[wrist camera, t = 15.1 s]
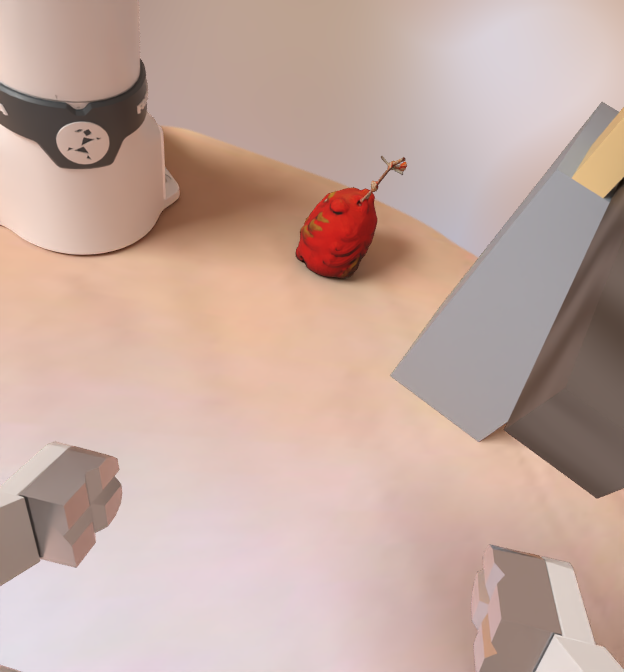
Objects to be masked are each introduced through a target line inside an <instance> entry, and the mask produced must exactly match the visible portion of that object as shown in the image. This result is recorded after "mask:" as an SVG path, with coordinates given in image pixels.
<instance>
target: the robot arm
mask: <svg viewBox="0 0 624 672" xmlns="http://www.w3.org/2000/svg"><path fill="white" fill-rule="evenodd" d="M139 36H140V32H139V0H0V225H2V226H5V227H7V228H8V229H10V230H12V231H13V232H14V233H16V234H17V235H19V236H20V237H21V238H23V239H25V240H26V241H28V242H30V243H32V244H34V245H37V246H39V247H42V248H45V249H48V250H52V251H56V252H61V253H67V254H81V255H83V254H99V253H106V252H110V251H114V250H118V249H121V248H124V247H126V246H128V245H131V244H133V243H134V242H136V241H138V240H139V239H141V238H142V237H144V236H145V235H146V234H147V233H148V232H149V231H150V230H151V229H152V228H153V226H154V225H155V223H156V221H157V219H158V217H159V215H160V214H161V212H162V211H163V210H164V209H165V208H166V207H168V206H169V205H171V204H172V203H174V202H175V201H176V200H177V199H178V198H179V196H180V191H179V185H178V183H177V182H176V181H175V179H174V178H173V177H172V175H171V174H170V173H169V171H168V170H167V168H166V167H165V159H164V137H163V130H162V127H161V126H159V125H157V123H156V121H155V119H154V118H153V117H152V116H151V115H150V114H149V113H148V112H147V99H148V85H147V80H146V72H145V67H144V64H143V62H142V60H141V59H140V37H139ZM118 471H119V465H118V459H117V458H115V457H113V456H110V455H106V454H102V453H98V452H95V451H91V450H87V449H83V448H79V447H76V446H70V445H67V444H63V443H59V442H52V443H49V444H47V445H46V446H45V447H44V448H43V449H41V450H40V451H39V452H38V453H37V454H36V455H35V456H34V457H32V458H31V459H30V460H29V461H28V462H27V463H26V464H25V465H24V466H22V467H21V468H20V469H19V470H18V471H17V472H16V473H15V474H13V475H12V476H11V477H10V478H9V479H8V480H7V481H6V482H5V483H3V484H2V485H1V486H0V586H1V585H3V584H4V583H6V582H8V581H9V580H11V579H12V578H14V577H16V576H17V575H19V574H21V573H22V572H24V571H25V570H27V569H29V568H30V567H32V566H33V565H35V564H37V563H38V562H40V559H43V560H47V561H51V562H55V563H59V564H63V565H67V566H71V567H75V568H77V566H78V565H79V564H80V563H81V561H82V560H83V559H84V557H85V556H86V555H87V553H88V552H89V551H90V549H91V548H92V547H93V546H94V544H95V543H96V535H95V533H96V532H98V531H100V530H102V529H104V528H106V527H108V526H109V524H110V523H111V522H112V520H113V519H114V517H115V516H116V514H117V511H118V509H119V506H120V504H121V499H122V486H121V484H120V482H119V481H118V480H117V479H116V477H115V475H116V473H117V472H118ZM483 566H484V569H482V570H480V571H478V572H477V575H476V578H475V581H474V585H473V591H472V599H471V613H472V622H473V624H474V625H475V627H476V628H477V630H478V633H477V636H476V638H475V641H474V644H473V645H474V658H475V671H476V672H624V669H623V668H622V667H621V665H620V664H619V663H618V662H617V661H616V660H615V658H614V657H613V656H612V655H611V654H610V653H609V652H608V650H607V649H606V648H605V647H602V646H599V645H596V643H595V640H594V636H593V633H592V630H591V626H590V623H589V619H588V616H587V613H586V609H585V606H584V603H583V599H582V596H581V592H580V589H579V586H578V582H577V579H576V575H575V572H574V569H573V567H572V565H571V564H570V563H569V562H565V561H560V560H556V559H552V558H547V557H543V556H542V557H540V556H539V555H535V554H530V553H526V552H521V551H517V550H512V549H508V548H503V547H499V546H494V545H490V544H489V545H488V546H487V548H486V550H485V552H484V555H483ZM0 672H21V671H18V670H15V669H12V668H9V667H6V666H3V665H0Z"/></svg>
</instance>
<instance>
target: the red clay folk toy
mask: <svg viewBox="0 0 624 672" xmlns="http://www.w3.org/2000/svg"><path fill="white" fill-rule="evenodd" d="M381 158H382V160H383V161H384V162H385V163H386V164H387V165H388V168H387V170H386V171H385V173H384V174H383V175H382V176H381V178H380V179H379V180H378V181H372V182H371V191H370V190H368V189H363V190H359V189H357V188H354V187H353V188H346V189H343V190H340V191H335V192H332V193H329V194H327V195H326V196H325V197H324V198H323V199H322V201H321V202H319V203H318V204H317V206H316V207H315V208H314V210H313V211H312V212H311V214H310V215H309V217H308V218H307V219H306V221H305V224H304V226H303V227H302V228H301V230H300V242H299V245H298V248H297V249H296V257H297V259H298V260H300V261H304V262H305V264H306V267H307V268H308V269H310V270H311V271H313V272H315V273H317V274H319V275H322V276H326V277H337V278H341V279H344V278H347V277H350V276H351V275H353V273H354V272H355V271H356V270H357V268H358V266H359V263H360V261H361V259H362V258H363V257H364V256H365V254H366V253H367V250H368V247H369V246H370V244H371V242H372V239H373V236H374V231H375V229H376V225H377V216H376V211H375V208H374V199H375V196H374V194H373V193H372V192H375V191H377V189H378V184H379V183H380V182H381V181H382V179H383V178H384V177H385V176H386V174H387V173H388V172H389V171H390V170H395V171H397V172H398V173H400V174H402V175H403V172H401V171H404V170H405V169H406V167H407V164H406V162H403V163H402V164H400V165H397V164H399V163H400V162H402V161H405V158H404V157H403V158H401V159H399V160H397V161H392V162H390V163H388V162H387V161H386V160H385V159H384V158H383V156H381Z"/></svg>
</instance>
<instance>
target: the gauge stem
mask: <svg viewBox="0 0 624 672" xmlns="http://www.w3.org/2000/svg"><path fill="white" fill-rule="evenodd" d="M504 431H506V432H507V433H508V434H510V435H511V436H512V437H514V438H515V439H517V440H518V441H519V442H521V443H522V444H523V445H525V446H526V447H527V448H529V449H530V450H532V451H533V452H534V453H536V454H537V455H538V456H540V457H541V458H542V459H544V460H545V461H547V462H548V463H549V464H551V465H552V466H553V467H555V468H556V469H557V470H559V471H560V472H561V473H563V474H564V475H566V476H567V477H568V478H570V479H571V480H572V481H574V482H575V483H576V484H578V485H579V486H581V487H582V488H583V489H585V490H586V491H587V492H589V493H590V494H591V495H593V496H594V497H595V498H600V497H603V496H605V495H608V494H610V493H613V492H615V491H618V490H621V489H623V488H624V177H623V178H622V179H621V180H620V181H619V183H618V185H617V188H616V190H615V192H614V194H613V196H612V198H611V200H610V203H609V205H608V207H607V209H606V211H605V213H604V216H603V218H602V220H601V222H600V224H599V226H598V228H597V231H596V233H595V235H594V237H593V239H592V241H591V243H590V246H589V248H588V250H587V252H586V254H585V256H584V259H583V261H582V263H581V265H580V267H579V269H578V271H577V274H576V276H575V278H574V280H573V282H572V284H571V287H570V289H569V291H568V293H567V295H566V297H565V299H564V302H563V304H562V306H561V308H560V310H559V312H558V314H557V317H556V319H555V321H554V323H553V325H552V327H551V330H550V332H549V334H548V336H547V338H546V340H545V342H544V345H543V347H542V349H541V351H540V353H539V355H538V358H537V360H536V362H535V364H534V366H533V368H532V370H531V373H530V375H529V377H528V379H527V381H526V383H525V385H524V388H523V390H522V392H521V394H520V396H519V398H518V401H517V403H516V405H515V407H514V409H513V411H512V413H511V416H510V418H509V420H508V422H507V424H506V426H505V429H504Z"/></svg>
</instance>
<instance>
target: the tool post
mask: <svg viewBox="0 0 624 672" xmlns="http://www.w3.org/2000/svg"><path fill="white" fill-rule="evenodd" d="M623 177H624V107H623V109H622V110H621V111H620V112H618V111H617V110H615V109H613V108H612V107H610V106H608V105H607V104H605V103H603V102H601V103H600V105H599V106H598V107H597V109H596V110H595V111H594V112H593V114H592V115H591V116H590V117H589V119H588V120H587V121H586V123H585V124H584V125H583V126H582V128H581V129H580V130H579V131H578V133H577V134H576V135H575V137H574V138H573V139H572V140H571V142H570V143H569V144H568V145H567V146H566V148H565V149H564V150H563V152H562V153H561V154H560V155H559V157H558V158H557V159H556V161H555V162H554V163H553V164H552V166H551V167H550V168H549V169H548V171H547V172H546V173H545V174H544V176H543V177H542V178H541V179H540V181H539V182H538V183H537V184H536V186H535V187H534V189H533V190H532V191H531V192H530V193H529V195H528V196H527V197H526V198H525V200H524V201H523V202H522V204H521V205H520V206H519V207H518V209H517V210H516V211H515V212H514V214H513V215H512V216H511V217H510V219H509V220H508V221H507V223H506V224H505V225H504V226H503V228H502V229H501V230H500V231H499V233H498V234H497V235H496V236H495V238H494V239H493V240H492V241H491V243H490V244H489V245H488V247H487V248H486V249H485V250H484V252H483V253H482V254H481V255H480V257H479V258H478V259H477V260H476V262H475V263H474V264H473V265H472V267H471V268H470V269H469V271H468V272H467V273H466V274H465V276H464V277H463V278H462V279H461V281H460V282H459V283H458V284H457V286H456V287H455V288H454V289H453V291H452V292H451V293H450V295H449V296H448V297H447V298H446V300H445V301H444V302H443V303H442V305H441V306H440V307H439V309H438V310H437V312H436V313H435V314H434V316H433V317H432V318H431V320H430V321H429V323H428V324H427V325H426V327H425V328H424V329H423V331H422V332H421V334H420V335H419V336H418V338H417V339H416V341H415V342H414V343H413V345H412V346H411V347H410V349H409V350H408V352H407V353H406V354H405V356H404V357H403V359H402V360H401V361H400V363H399V364H398V365H397V367H396V368H395V370H394V371H393V372H392V374H391V375H390V376H391V377H392V378H394V379H395V380H396V381H398V382H399V383H401V384H402V385H403V386H405V387H406V388H407V389H409V390H410V391H411V392H413V393H414V394H415V395H417V396H418V397H419V398H421V399H422V400H423V401H425V402H426V403H427V404H429V405H430V406H431V407H433V408H434V409H435V410H437V411H438V412H439V413H441V414H442V415H443V416H445V417H446V418H447V419H449V420H450V421H451V422H453V423H454V424H455V425H457V426H458V427H460V428H461V429H462V430H464V431H465V432H466V433H468V434H469V435H470V436H472V437H473V438H474V439H476V440H477V441H478V442H479V441H481V440H482V439H484V438H485V437H487V436H488V435H489V434H491V433H492V432H494V431H495V430H497V429H498V428H499V427H501V426H502V425H504V424H505V423H507V422H508V420H509V418H510V416H511V413H512V411H513V409H514V407H515V405H516V403H517V401H518V398H519V396H520V394H521V392H522V390H523V388H524V385H525V383H526V381H527V379H528V377H529V375H530V373H531V370H532V368H533V366H534V364H535V362H536V360H537V358H538V355H539V353H540V351H541V349H542V347H543V345H544V342H545V340H546V338H547V336H548V334H549V332H550V330H551V327H552V325H553V323H554V321H555V319H556V317H557V314H558V312H559V310H560V308H561V306H562V304H563V302H564V299H565V297H566V295H567V293H568V291H569V289H570V287H571V284H572V282H573V280H574V278H575V276H576V274H577V271H578V269H579V267H580V265H581V263H582V261H583V259H584V256H585V254H586V252H587V250H588V248H589V246H590V243H591V241H592V239H593V237H594V235H595V233H596V231H597V228H598V226H599V224H600V222H601V220H602V218H603V216H604V213H605V211H606V209H607V207H608V205H609V203H610V200H611V198H612V196H613V194H614V192H615V190H616V188H617V185H618V183H619V181H620V180H621V179H622V178H623Z"/></svg>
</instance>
